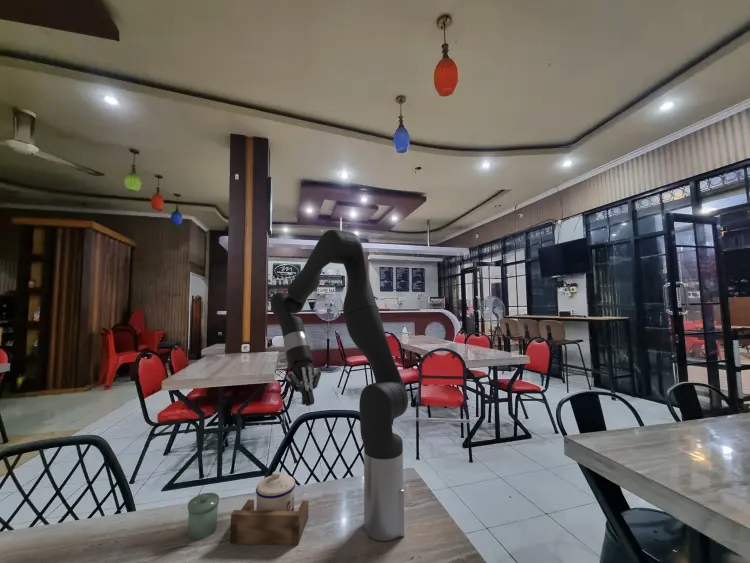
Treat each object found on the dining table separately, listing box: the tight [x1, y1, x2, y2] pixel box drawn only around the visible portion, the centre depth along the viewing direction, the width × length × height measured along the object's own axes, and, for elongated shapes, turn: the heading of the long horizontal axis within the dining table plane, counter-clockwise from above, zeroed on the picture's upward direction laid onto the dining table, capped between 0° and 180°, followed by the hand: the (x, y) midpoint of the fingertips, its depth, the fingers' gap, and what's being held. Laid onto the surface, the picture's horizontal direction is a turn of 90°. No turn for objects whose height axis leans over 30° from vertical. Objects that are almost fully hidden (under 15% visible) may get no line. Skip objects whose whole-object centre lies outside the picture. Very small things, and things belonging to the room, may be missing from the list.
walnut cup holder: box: [229, 499, 310, 546], centre depth 74 cm, size 15×9×6 cm, turn 88°
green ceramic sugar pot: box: [186, 492, 220, 540], centre depth 75 cm, size 6×6×8 cm
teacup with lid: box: [255, 470, 296, 511], centre depth 78 cm, size 12×9×12 cm
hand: (310, 404), depth 93 cm, fingers closed
